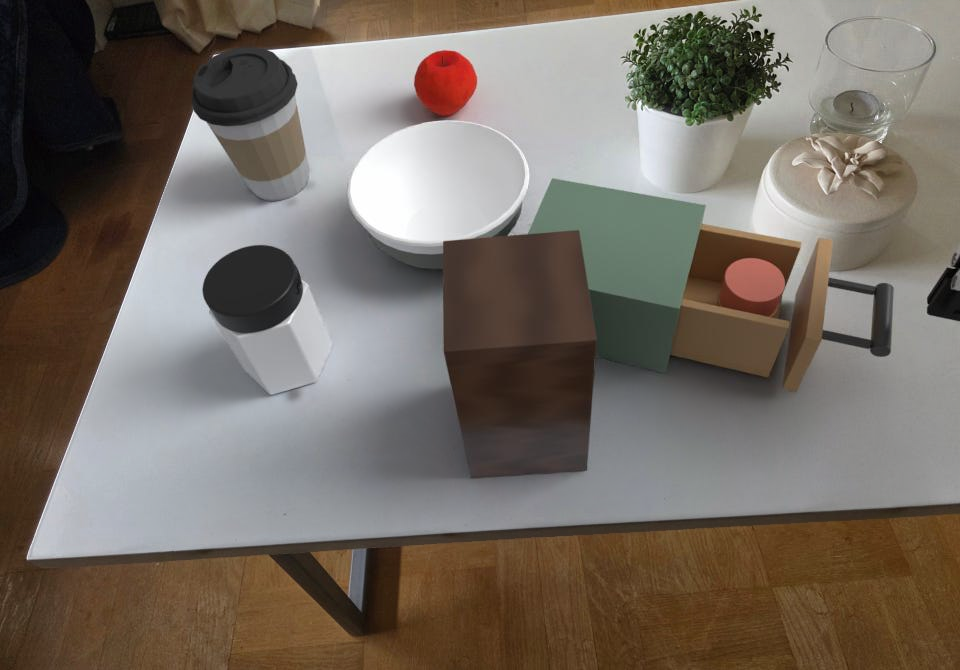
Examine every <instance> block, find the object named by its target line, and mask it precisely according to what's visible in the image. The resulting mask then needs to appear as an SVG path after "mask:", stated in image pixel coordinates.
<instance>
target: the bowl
mask: <svg viewBox="0 0 960 670" xmlns="http://www.w3.org/2000/svg"><path fill="white" fill-rule="evenodd" d="M529 183H530V168H529V163H528V161H527V159H526V157H525V155H524V152H523V151H522V150H521V149H520V147H518V145H517V144H516V142H514V141H513V140H512V139H511V138H510V137H508V136H507V135H505V134H504V133H502V132H501V131H499V130H496V129H494V128H492V127H490V126H487V125H484V124H480V123H478V122H471V121H466V120H465V121H464V120H447V119H445V120H433V121H427V122H422V123H418V124H414V125H410V126H406V127H404V128H402V129H398V130H396V131H394V132H392V133H390V134H389V135H386V136H384V137H383V138H381V139H380V140H378V141H377V142H376V143H374V144H373V145H371V146H370V147H369V148H368V149H367V150H366V151H365V152H364V153H363V154H362V155H361V156H360V157H359V159H358V160H357V162H356V164H355V165H354V167H353V168H352V170H351V172H350V175H349V178H348V181H347V188H346V198H347V203H348V207H349V209H350V211H351V212H352V214H353V216H354V218H355V219H356V220H357V221H358V222H359V223H360V224H361V226H362V227H363V229H364V230H365V232H366V234H367V236H368V237H369V239H370V240H371V241H372V243H373V244H374V245H375V246H376V247H377V248H378V249H380V250H381V251H383V252H384V253H386V254H387V255H389V256H390V257H391V258H392V259H395V260H396V261H398V262H400V263H403V264H406V265H408V266H412V267H416V268H421V269H433V270H435V269H436V270H443V241H451V240H463V239H475V238H487V237H499V236H509V235H510V233H511V232H512V231H513V229H514V228H515V227H516V225H517V223H518V221H519V219H520V216H521V215H522V208H523V201H524V198H525V196H526V194H527V191H528V188H529Z"/></svg>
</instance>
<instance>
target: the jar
mask: <svg viewBox="0 0 960 670" xmlns="http://www.w3.org/2000/svg"><path fill="white" fill-rule="evenodd" d="M201 291H202V296H203V297H202V298H203V300H204V302H205V304H206V305H207V308H208V309H209V311H208V314H209V316H210V317H211V319H212V320H213V323H214V324H215V325H216V327H217V329H218V330H219V332H220V333H221V335H222V337H223V338H224V340H225V342H226V343H227V345H228V347H229V348H230V351H232V353H233V355H234V356H235V358H236V360H237V361H238V363H239V364H240V366H241V368H242V369H243V371H244V372H246V374H247V375H249V376H250V378H252V379H253V380H254V381H255V382H256V383H257V384H258V385H259V386H261V387H262V388H263V390H264V391H265V392H266V393H268V394H269V395H271V396H273V395H276V394H277V395H278V394H280V393H283V392H286V391H290V390H293V389H297V388H301V387H303V386H307V385H311V384H315V383H317V382H318V381H319V378H320V376H321V374H322V372H323V369H324V367H325V365H326V362H327V360H328V358H329V355H330V353H331V350H332V349H333V345H334V343H333V341H332V338H331V336H330V332H329V331H328V329H327V326H326V324H325V321H324V319H323V317H322V314H321V311H320V310H319V307H318V304H317V303H316V300H315V298H314V295H313V293H312V290H311V288H310V285H309V283H307V282H306V281H305V280H303V279H302V276H301V274H300V271H299V269H298V267H297V265H296V263H295V262H294V260H293V258H292V257H291V256H290V255H289V253H287V252H286V251H284V250H283V249H281V248H278V247H276V246H273V245H267V244H254V245H249V246H248V245H247V246H244V247H241V248H238V249H235V250H232V251H231V252H229V253H227V254H225V255H224V256H222V257H221V258H220V259H218V260H217V261H215V263H214V264H213V265H212V266H211V268H210V269H209V270H208V272H207V273H206V275H205V277H204V280H203V282H202V289H201Z"/></svg>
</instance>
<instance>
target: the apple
mask: <svg viewBox="0 0 960 670" xmlns="http://www.w3.org/2000/svg"><path fill="white" fill-rule="evenodd" d="M413 87H414V90H415V94H416V96H417V98H418V100H420V102H421V103H422V105H423V106H424V107H425V108H426V109H428V110H429V111H431V112H432V113H434V114H436V115H438V116H442V117H445V116H452V115H454V114H456V113H458V112H459V111H460V110H462V109H463V108H464V107H465V106H466V105H467V104H468V102H469V101H470V100H471V98H472V97H473V95H474V94H475V91H476V89H477V87H478V75H477V73H476V71H475V68H474V65H473V64H472V62H471V61H470V60H469V59H468V58H466V56H464V55H463V54H461V53H460V52H459V51H456V50H446V49H444V50H443V49H442V50H437V51H434V52H432V53H429V55H427V56H426V57H424V58H423V59H422V60H421V61H420V63H419V64H418V66H417V68H416V71H415V74H414V80H413Z"/></svg>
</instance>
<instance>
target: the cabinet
mask: <svg viewBox="0 0 960 670" xmlns="http://www.w3.org/2000/svg"><path fill="white" fill-rule="evenodd" d="M706 207H707V205H706V204H700V203H696V202H690V201H685V200H678V199H672V198H668V197H661V196H657V195H656V196H655V195H651V194H646V193H638V192H633V191H627V190H622V189H615V188H611V187H604V186H599V185H595V184H588V183H581V182H576V181H571V180H564V179H558V178H554V177H553V178H551V180H550V182H549V185H548V186H547V189H546V191H545V193H544V196H543V197H542V200H541V203H540V205H539V207H538V209H537V212H536V214H535V216H534V219H533V221H532V223H531V226H530V227H529V230H528V232H527V234H535V233H547V232H559V231H571V230H579V231H580V237H581V243H582V250H583V256H584V262H585V269H586V275H587V281H588V287H589V294H590V300H591V306H592V313H593V319H594V325H595V331H596V338H597V344H596V357H595V358H599V359H600V358H601V359H603V360H609V361H611V362H612V361H613V362H617V363H620V364H624V365H630V366H633V367H638V368H641V369H647V370H649V371H655V372H659V373H663V374H666V373H667V369H668V365H669V361H670V358H671V355H670V352H671V347H672V343H673V338H674V333H675V329H676V324H677V320H678V315H679V310H680V306H681V302H682V298H683V294H684V290H685V287H686V283H687V279H688V275H689V271H690V267H691V263H692V259H693V255H694V251H695V247H696V244H697V240H698V236H699V232H700V228H701V224H703V220H704V216H705V212H706V209H707V208H706Z"/></svg>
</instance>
